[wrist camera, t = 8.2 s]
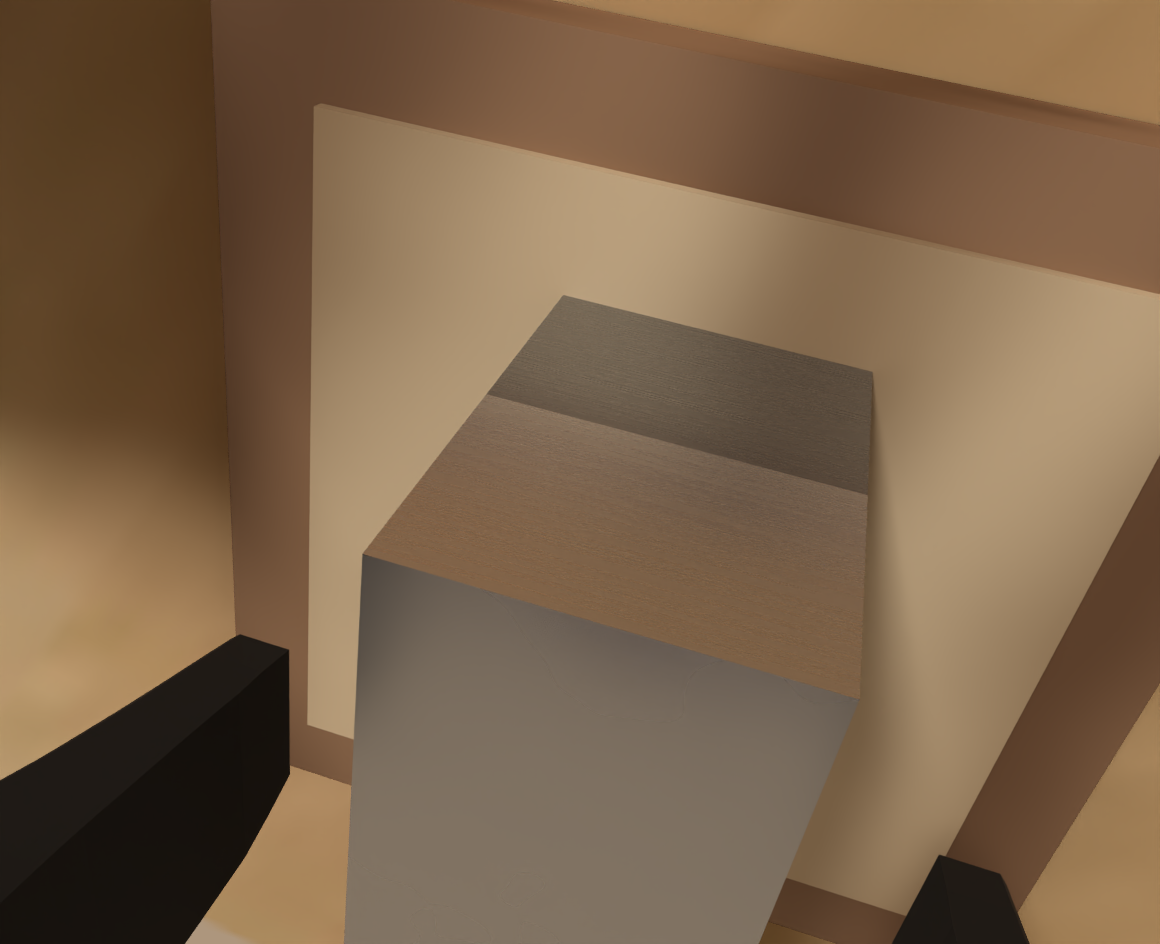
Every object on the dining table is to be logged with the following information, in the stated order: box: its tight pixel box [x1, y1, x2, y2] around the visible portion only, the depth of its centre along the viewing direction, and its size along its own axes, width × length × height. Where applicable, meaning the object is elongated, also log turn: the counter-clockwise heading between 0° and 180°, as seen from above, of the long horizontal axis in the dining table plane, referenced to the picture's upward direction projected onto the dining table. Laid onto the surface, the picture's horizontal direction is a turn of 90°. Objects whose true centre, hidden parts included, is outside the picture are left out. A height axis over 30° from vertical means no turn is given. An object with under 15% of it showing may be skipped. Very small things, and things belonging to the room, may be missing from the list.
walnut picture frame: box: [211, 0, 1160, 944], centre depth 16 cm, size 14×14×2 cm
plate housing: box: [344, 295, 873, 944], centre depth 12 cm, size 4×7×6 cm, turn 171°
